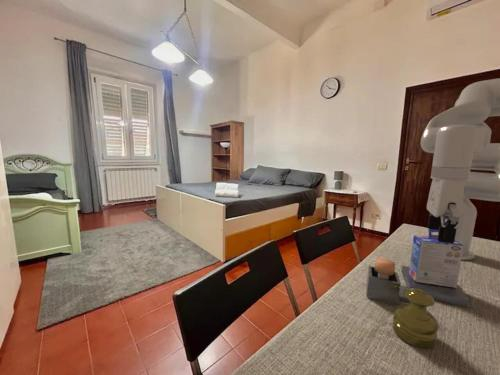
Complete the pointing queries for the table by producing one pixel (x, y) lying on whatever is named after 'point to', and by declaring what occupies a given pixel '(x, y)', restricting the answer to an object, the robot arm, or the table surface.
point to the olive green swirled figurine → (416, 320)
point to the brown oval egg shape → (384, 267)
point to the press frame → (394, 291)
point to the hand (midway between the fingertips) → (439, 235)
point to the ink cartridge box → (435, 260)
